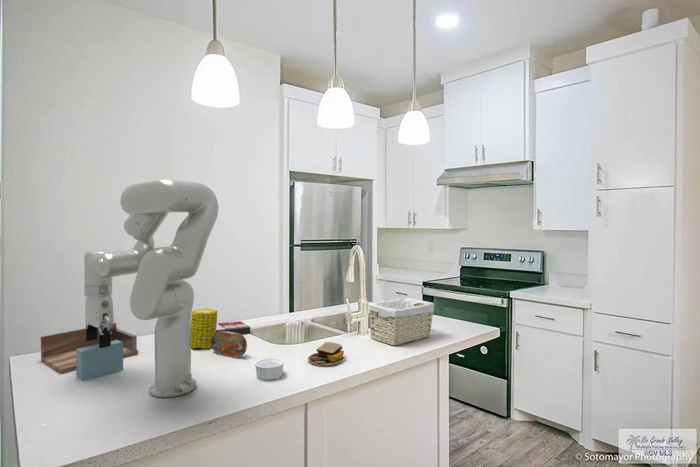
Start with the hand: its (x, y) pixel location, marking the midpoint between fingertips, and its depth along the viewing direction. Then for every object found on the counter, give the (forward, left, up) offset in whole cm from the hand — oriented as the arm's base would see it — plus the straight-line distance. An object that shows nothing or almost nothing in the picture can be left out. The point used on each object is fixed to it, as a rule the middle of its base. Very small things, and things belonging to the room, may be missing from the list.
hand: (98, 343), depth 132 cm
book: (-1, 0, -10) cm, 10 cm away
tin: (-18, -36, -10) cm, 42 cm away
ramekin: (-44, -32, -10) cm, 55 cm away
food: (-2, -36, -10) cm, 38 cm away
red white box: (+6, -53, -10) cm, 54 cm away
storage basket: (-55, -93, -10) cm, 109 cm away
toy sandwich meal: (-48, -54, -10) cm, 73 cm away
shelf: (+17, -4, -10) cm, 20 cm away
